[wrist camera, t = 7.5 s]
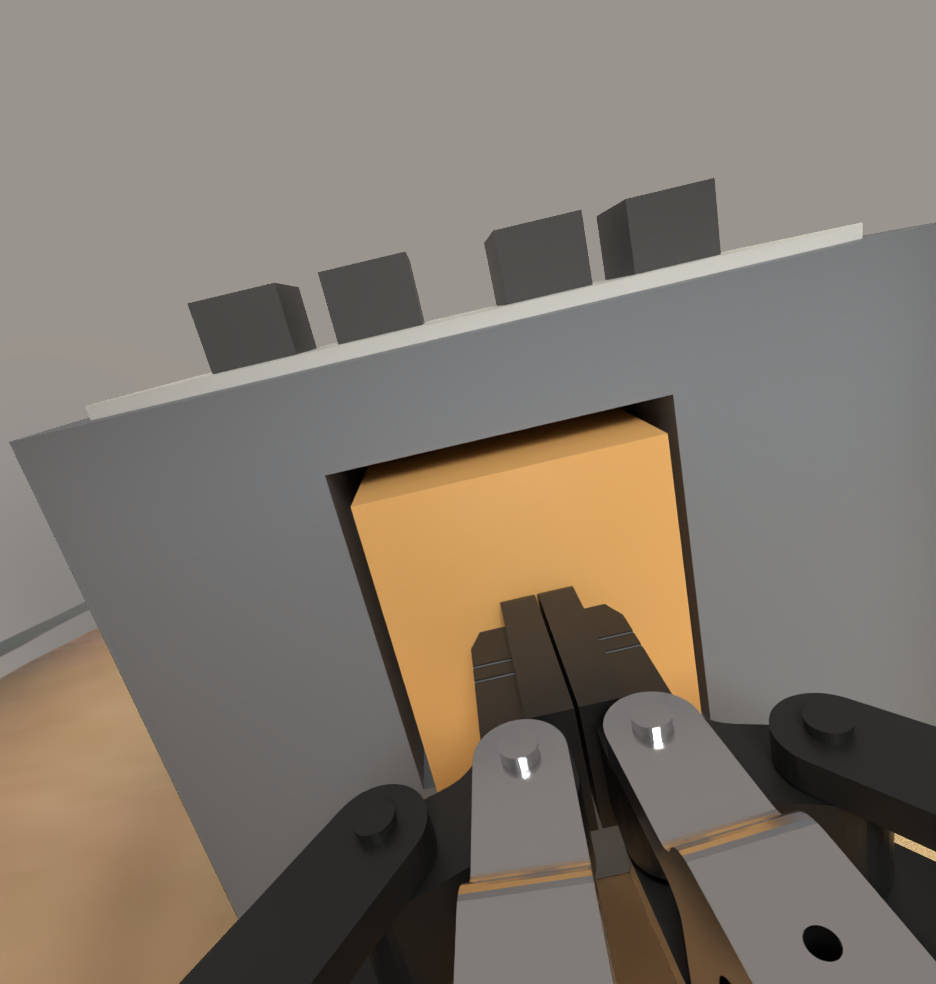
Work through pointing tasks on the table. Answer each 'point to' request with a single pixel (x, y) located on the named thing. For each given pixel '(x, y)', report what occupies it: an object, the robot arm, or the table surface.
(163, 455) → the box
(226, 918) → the table surface
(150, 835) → the table surface
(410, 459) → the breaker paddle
